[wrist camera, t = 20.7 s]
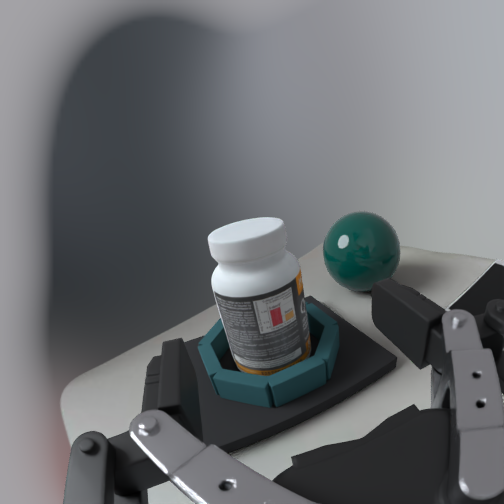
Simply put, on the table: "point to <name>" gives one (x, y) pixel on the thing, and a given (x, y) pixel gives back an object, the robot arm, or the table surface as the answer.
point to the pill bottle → (260, 295)
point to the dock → (282, 380)
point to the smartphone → (482, 291)
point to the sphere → (361, 250)
